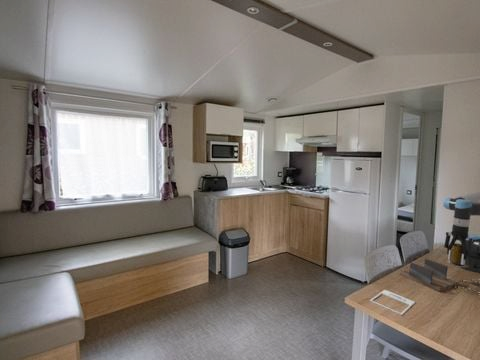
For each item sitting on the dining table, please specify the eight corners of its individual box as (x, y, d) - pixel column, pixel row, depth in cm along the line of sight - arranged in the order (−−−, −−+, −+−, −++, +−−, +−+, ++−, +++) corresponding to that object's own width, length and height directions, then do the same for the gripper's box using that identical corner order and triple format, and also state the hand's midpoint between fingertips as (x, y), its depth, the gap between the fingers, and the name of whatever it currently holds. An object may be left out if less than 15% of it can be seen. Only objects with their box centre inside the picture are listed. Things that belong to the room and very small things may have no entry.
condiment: (455, 260, 167) (457, 242, 166) (469, 266, 159) (472, 247, 158) (445, 261, 166) (448, 243, 164) (459, 267, 157) (462, 247, 156)
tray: (416, 270, 175) (418, 255, 174) (455, 285, 156) (458, 269, 155) (399, 274, 167) (401, 259, 166) (439, 292, 148) (441, 274, 147)
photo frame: (415, 301, 135) (401, 314, 124) (414, 303, 135) (401, 316, 124) (384, 289, 146) (369, 299, 135) (384, 291, 146) (369, 301, 135)
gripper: (439, 221, 167) (435, 257, 170) (477, 230, 150) (472, 269, 153) (446, 220, 170) (441, 255, 173) (483, 228, 154) (478, 267, 156)
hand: (456, 262), depth 163 cm, fingers closed on condiment, 6 cm apart
